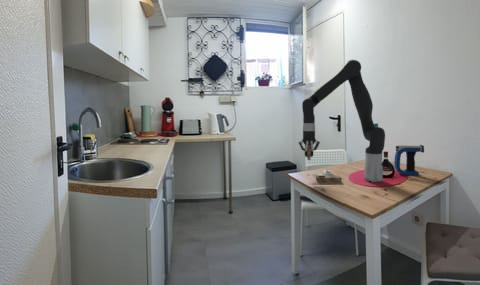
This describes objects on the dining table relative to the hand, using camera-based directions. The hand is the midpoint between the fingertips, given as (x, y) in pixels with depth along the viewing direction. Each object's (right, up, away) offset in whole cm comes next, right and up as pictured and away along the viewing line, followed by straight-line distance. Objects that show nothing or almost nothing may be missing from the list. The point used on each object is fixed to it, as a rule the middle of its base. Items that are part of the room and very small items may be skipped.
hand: (309, 156), depth 171 cm
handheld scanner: (+67, -12, +5) cm, 68 cm away
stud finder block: (+11, -13, -2) cm, 18 cm away
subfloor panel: (+10, -14, -2) cm, 18 cm away
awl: (0, -2, 0) cm, 2 cm away
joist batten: (+9, -15, -10) cm, 20 cm away
